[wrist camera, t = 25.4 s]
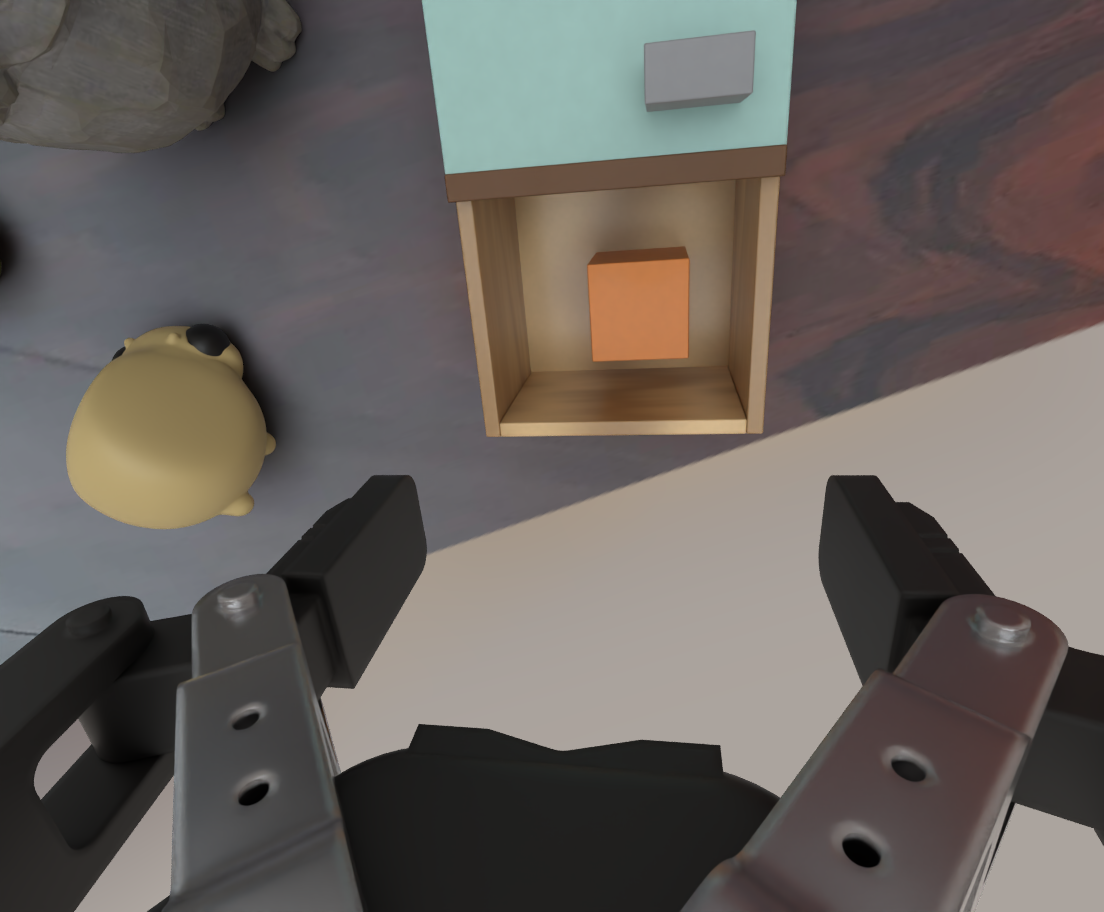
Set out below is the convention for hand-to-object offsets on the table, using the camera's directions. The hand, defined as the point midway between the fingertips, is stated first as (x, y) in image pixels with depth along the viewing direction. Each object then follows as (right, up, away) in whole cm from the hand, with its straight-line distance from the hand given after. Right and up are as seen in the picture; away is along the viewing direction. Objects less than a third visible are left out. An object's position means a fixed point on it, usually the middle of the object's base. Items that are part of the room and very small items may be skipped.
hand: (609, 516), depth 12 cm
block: (+4, +10, +21) cm, 23 cm away
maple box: (+3, +12, +21) cm, 24 cm away
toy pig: (-23, +5, +29) cm, 37 cm away
